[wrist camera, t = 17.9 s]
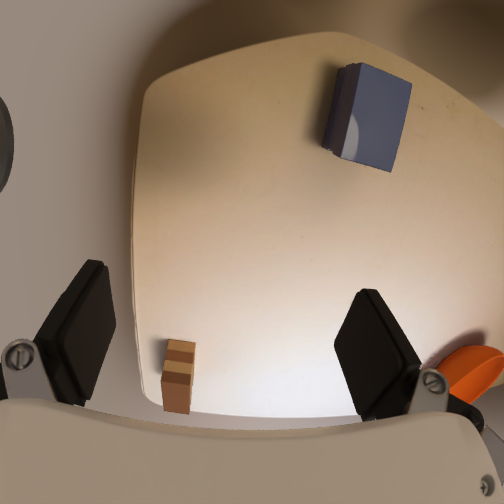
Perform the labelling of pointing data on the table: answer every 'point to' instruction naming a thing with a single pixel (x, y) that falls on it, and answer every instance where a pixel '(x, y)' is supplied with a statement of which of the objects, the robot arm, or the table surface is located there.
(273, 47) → the table surface
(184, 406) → the tan books
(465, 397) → the bowl
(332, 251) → the table surface
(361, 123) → the navy book
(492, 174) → the table surface
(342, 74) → the navy books
